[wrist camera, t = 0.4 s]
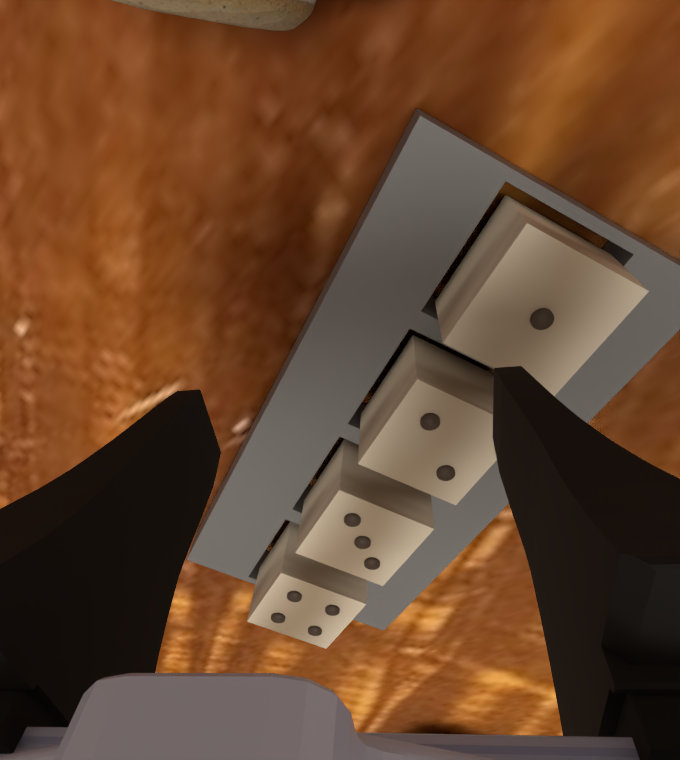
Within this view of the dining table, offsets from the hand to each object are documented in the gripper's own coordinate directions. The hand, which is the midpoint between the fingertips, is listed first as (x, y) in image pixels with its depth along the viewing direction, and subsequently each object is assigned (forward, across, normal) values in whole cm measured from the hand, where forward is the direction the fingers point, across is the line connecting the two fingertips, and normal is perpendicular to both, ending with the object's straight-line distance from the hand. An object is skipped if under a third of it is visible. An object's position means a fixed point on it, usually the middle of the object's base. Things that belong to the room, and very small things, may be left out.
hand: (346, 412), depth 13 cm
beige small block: (+8, +1, +10) cm, 13 cm away
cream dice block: (+8, -2, +5) cm, 10 cm away
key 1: (+8, -6, 0) cm, 10 cm away
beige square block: (+8, +4, +15) cm, 18 cm away
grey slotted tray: (+10, -1, +8) cm, 12 cm away
